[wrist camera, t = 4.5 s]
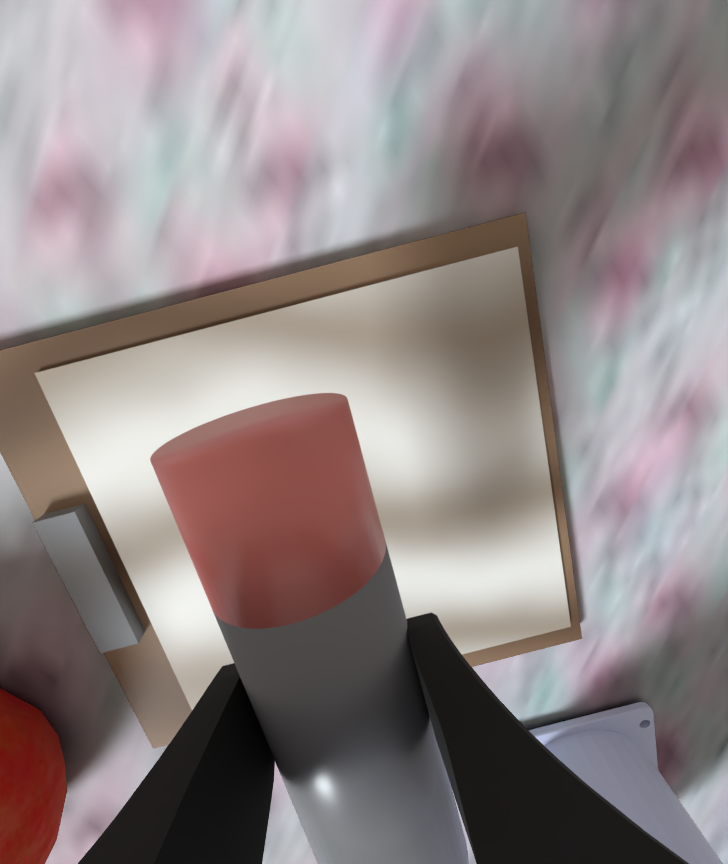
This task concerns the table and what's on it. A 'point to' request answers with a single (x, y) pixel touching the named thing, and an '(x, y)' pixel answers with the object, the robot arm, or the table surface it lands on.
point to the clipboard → (376, 429)
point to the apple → (29, 783)
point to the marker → (315, 625)
